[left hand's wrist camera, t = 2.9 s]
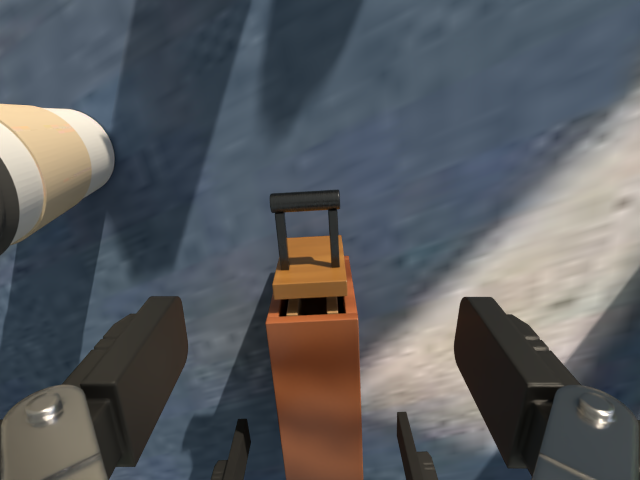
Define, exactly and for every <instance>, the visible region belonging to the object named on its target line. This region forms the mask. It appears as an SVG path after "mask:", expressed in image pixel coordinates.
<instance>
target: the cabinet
mask: <svg viewBox="0 0 640 480" xmlns="http://www.w3.org/2000/svg"><path fill="white" fill-rule="evenodd" d="M344 261H345V268H346V276H347V291H348V295H347V296H338V297H337V302H338V314H323V315H303V316H286V314H287V308H288V302H289V299H280V300H274V295H272V299H271V303H270V307H269V312H268V316H267V320H266V331H267V339H268V346H269V354H270V362H271V369H272V377H273V384H274V392H275V399H276V407H277V415H278V422H279V430H280V437H281V445H282V452H283V460H284V468H285V475H286V480H363V456H362V423H361V391H360V359H359V327H358V314H357V308H356V301H355V295H354V288H353V282H352V275H351V269H350V262H349V256H344Z"/></svg>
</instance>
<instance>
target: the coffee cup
mask: <svg viewBox="0 0 640 480" xmlns="http://www.w3.org/2000/svg"><path fill="white" fill-rule="evenodd" d="M114 161H115V158H114V150H113V147H112V144H111V141H110V139H109V137H108V135H107V134H106V132H105V131H104V130H103V128H102V127H101V126H100V125H99V124H98V123H97V122H96V121H95V120H93V119H92V118H90V117H89V116H87V115H85V114H83V113H81V112H78V111H75V110H70V109H50V108H40V107H35V106H27V105H8V104H0V255H1V254H2V253H3V252H4V251H5V250H6V249H7V248H8V247H9V246H10V245H13V244H16V243H18V242H20V241H22V240H24V239H25V238H27V237H28V236H30V235H31V234H33V233H34V232H36V231H37V230H39V229H40V228H42V227H43V226H45V225H46V224H48V223H49V222H51V221H52V220H54V219H55V218H57V217H58V216H60V215H61V214H63V213H64V212H66V211H67V210H69V209H70V208H72V207H73V206H75V205H76V204H78V203H79V202H80V201H81V200H82V199H83V198H85V197H86V196H88V195H89V194H91V193H93V192H94V191H96V190H97V189H99V188H101V187H102V186H103V185H104V184H105V183H106V182H107V181H108V180H109V178H110V176H111V174H112V172H113V169H114Z"/></svg>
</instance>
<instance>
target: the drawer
mask: <svg viewBox="0 0 640 480" xmlns="http://www.w3.org/2000/svg"><path fill="white" fill-rule="evenodd" d="M270 208H271V212H272V213H275V220H276V229H277V238H278V248H279V261H278V264H277V268H276V272H275V276H274V280H273V284H272V287H273V295H274V300H280V299H289V302H288V308H287V314H286V316H303V315H323V314H338V302H337V297H338V296H347V295H348V291H347V276H346V268H345V261H344V253H343V245H342V237H341V235H338V218H337V209H340V195H339V190H324V191H307V192H290V193H273V194H270ZM316 210H328V216H329V233H330V236H317V237H300V238H287V233H286V223H285V213H284V212H298V211H316Z"/></svg>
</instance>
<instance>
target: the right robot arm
mask: <svg viewBox="0 0 640 480" xmlns="http://www.w3.org/2000/svg"><path fill="white" fill-rule="evenodd" d="M397 438H398V443H399V448H400V453H401V457H402V462H403V467H404V471H405V476H406V480H438V478H437V474H436V471H435V467H434V465H433V461H432V457H431V456H430V455H429V453H428V452H416V448H415V444H414V440H413V436H412V433H411V429H410V425H409V421H408V417H407V413H406V412H397ZM250 444H251V440H250V434H249V428H248V423H247V419H238V422H237V426H236V430H235V434H234V438H233V442H232V446H231V450H230V454H229V458H228V460H219V461H218V462H217V463H216V465H215V466H214V470H213V474H212V477H211V480H243V479H244V474H245V469H246V464H247V459H248V454H249V449H250Z"/></svg>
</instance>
